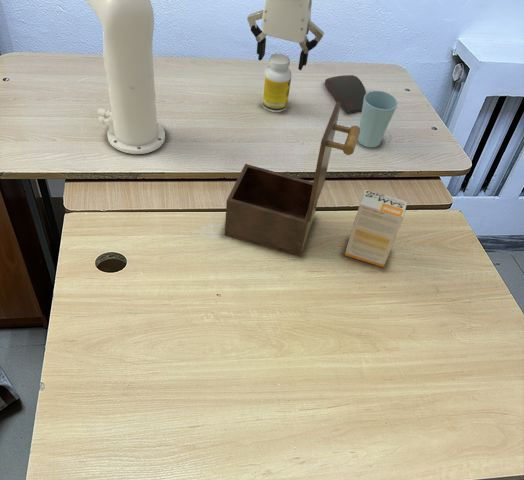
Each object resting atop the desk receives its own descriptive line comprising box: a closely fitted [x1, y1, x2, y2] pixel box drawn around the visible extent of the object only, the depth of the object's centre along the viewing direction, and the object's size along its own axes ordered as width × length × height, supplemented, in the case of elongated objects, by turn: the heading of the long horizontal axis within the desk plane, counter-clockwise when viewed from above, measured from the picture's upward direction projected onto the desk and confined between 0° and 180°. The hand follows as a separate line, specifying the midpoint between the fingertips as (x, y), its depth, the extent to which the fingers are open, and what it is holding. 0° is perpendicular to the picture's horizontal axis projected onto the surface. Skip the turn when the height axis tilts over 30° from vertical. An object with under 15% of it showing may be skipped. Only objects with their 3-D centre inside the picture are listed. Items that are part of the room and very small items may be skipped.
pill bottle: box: [261, 53, 292, 113], centre depth 128 cm, size 6×6×12 cm
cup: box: [357, 90, 399, 148], centre depth 124 cm, size 8×8×10 cm
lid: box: [306, 101, 360, 221], centre depth 93 cm, size 16×12×5 cm
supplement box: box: [344, 189, 408, 268], centre depth 101 cm, size 8×5×13 cm, turn 71°
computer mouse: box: [324, 74, 367, 114], centre depth 137 cm, size 8×14×4 cm, turn 23°
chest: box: [224, 163, 319, 257], centre depth 105 cm, size 16×12×9 cm
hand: (281, 62), depth 124 cm, fingers open, 9 cm apart
